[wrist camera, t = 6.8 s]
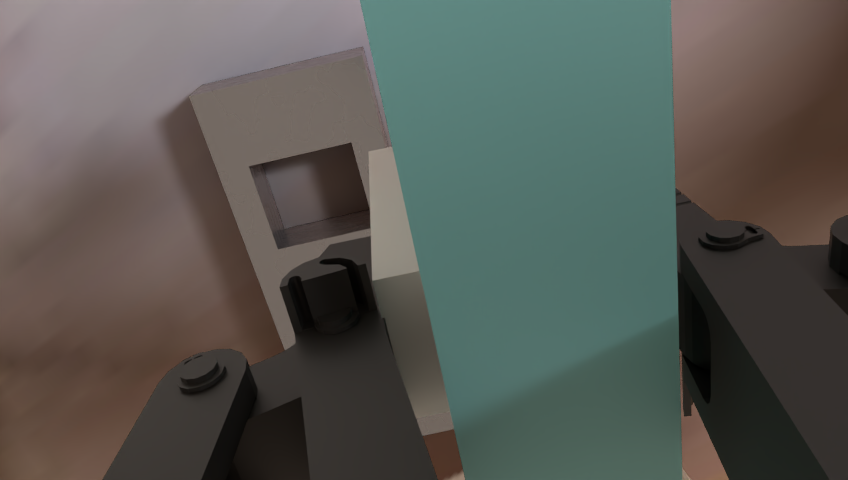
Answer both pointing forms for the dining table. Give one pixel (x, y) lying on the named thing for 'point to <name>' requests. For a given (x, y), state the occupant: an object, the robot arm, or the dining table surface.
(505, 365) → the panel
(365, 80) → the block
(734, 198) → the dining table surface
